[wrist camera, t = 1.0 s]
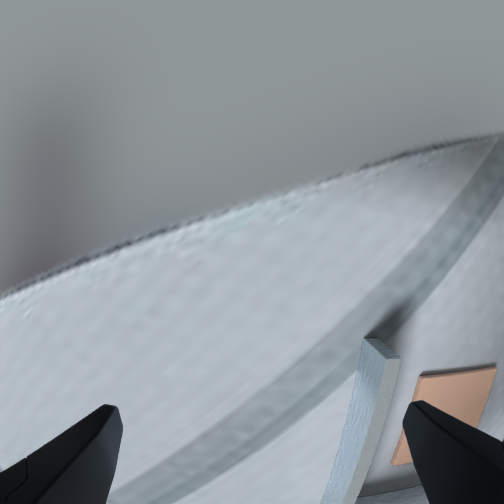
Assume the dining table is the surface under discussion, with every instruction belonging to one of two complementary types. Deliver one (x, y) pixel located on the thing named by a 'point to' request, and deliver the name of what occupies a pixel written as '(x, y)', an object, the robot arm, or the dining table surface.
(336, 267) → the dining table surface
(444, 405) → the terracotta tile
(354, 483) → the corner walls
